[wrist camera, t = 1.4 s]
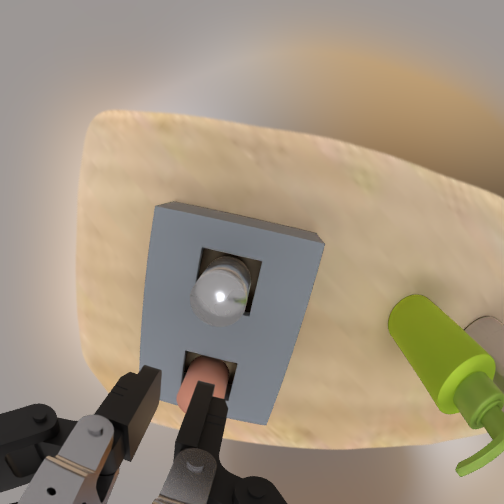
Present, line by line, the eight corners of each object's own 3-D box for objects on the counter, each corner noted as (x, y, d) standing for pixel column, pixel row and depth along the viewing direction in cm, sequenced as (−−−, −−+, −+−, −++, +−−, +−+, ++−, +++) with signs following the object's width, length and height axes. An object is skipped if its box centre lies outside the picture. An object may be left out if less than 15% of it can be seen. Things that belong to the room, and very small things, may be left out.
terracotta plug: (232, 360, 28) (225, 392, 23) (225, 390, 29) (218, 423, 24) (192, 350, 28) (178, 380, 23) (187, 381, 29) (174, 412, 24)
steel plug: (255, 262, 26) (251, 281, 21) (245, 305, 27) (239, 332, 22) (209, 251, 26) (194, 268, 21) (201, 294, 27) (186, 319, 22)
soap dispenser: (371, 324, 30) (451, 466, 11) (420, 283, 29) (540, 390, 10) (394, 356, 31) (467, 488, 12) (440, 319, 30) (541, 427, 10)
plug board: (316, 233, 29) (324, 244, 24) (267, 397, 33) (266, 425, 29) (173, 201, 29) (155, 206, 24) (153, 368, 34) (138, 393, 29)
